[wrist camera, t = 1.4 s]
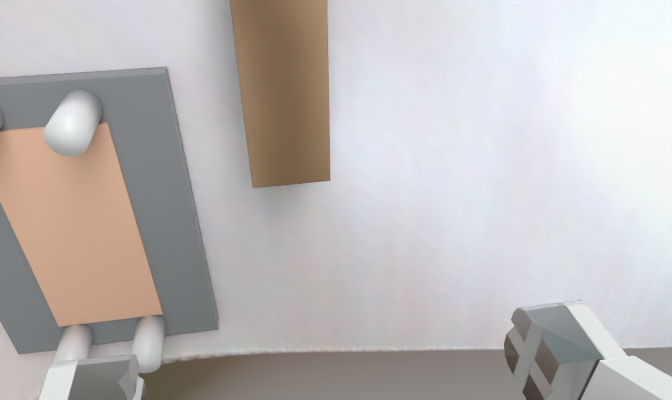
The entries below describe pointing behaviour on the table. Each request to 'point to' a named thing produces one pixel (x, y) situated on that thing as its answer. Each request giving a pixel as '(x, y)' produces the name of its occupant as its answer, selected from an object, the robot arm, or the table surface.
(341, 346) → the table surface
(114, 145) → the cradle
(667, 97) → the table surface
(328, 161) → the block
